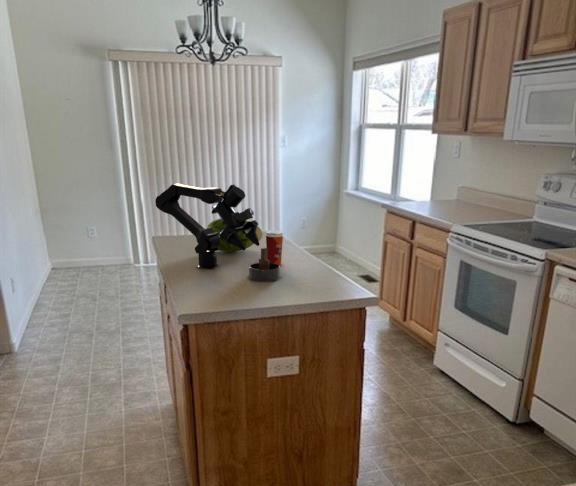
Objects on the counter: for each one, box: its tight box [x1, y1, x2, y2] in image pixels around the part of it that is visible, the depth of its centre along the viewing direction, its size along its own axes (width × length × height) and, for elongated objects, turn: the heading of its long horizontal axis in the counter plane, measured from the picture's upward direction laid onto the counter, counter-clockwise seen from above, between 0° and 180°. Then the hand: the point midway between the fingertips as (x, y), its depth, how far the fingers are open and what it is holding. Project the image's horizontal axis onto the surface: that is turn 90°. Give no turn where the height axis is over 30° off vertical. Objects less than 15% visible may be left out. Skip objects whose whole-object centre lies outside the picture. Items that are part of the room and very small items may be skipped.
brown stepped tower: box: [258, 246, 269, 270], centre depth 204 cm, size 6×6×11 cm
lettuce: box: [206, 217, 264, 253], centre depth 244 cm, size 15×27×16 cm, turn 112°
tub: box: [248, 262, 281, 283], centre depth 205 cm, size 12×12×4 cm
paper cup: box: [264, 230, 285, 267], centre depth 221 cm, size 8×8×14 cm
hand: (251, 247), depth 205 cm, fingers open, 9 cm apart
